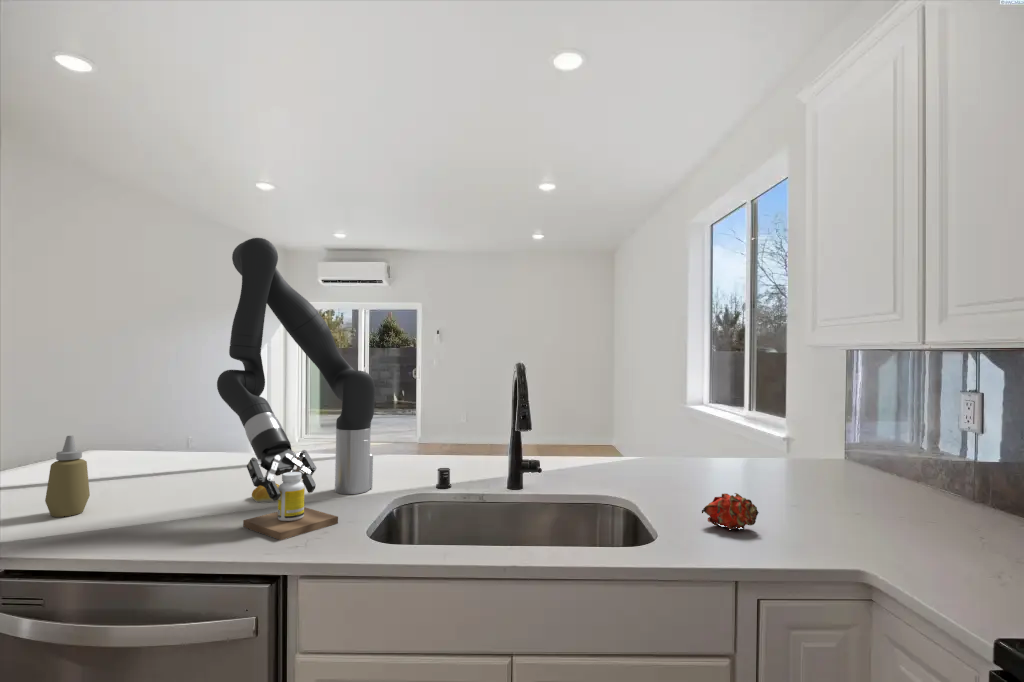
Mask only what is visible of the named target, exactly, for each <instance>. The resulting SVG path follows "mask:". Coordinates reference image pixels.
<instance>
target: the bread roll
mask: <svg viewBox="0 0 1024 682" xmlns="http://www.w3.org/2000/svg"><path fill="white" fill-rule="evenodd" d="M276 485H277V487H278V488H279V485H280V484H279V483H276ZM251 497H252V499H253V501H255V502H256V501H257V502H256V503H259V502H268V503H275V502H274V501H273V499H271V498H270V497H269V495H268V493H267V490H266V488H265V487H263V486H258V487H255V488H254V489H253V490H252V492H251ZM276 501H277V502H278V500H276Z"/></svg>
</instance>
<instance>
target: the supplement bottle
mask: <svg viewBox="0 0 1024 682" xmlns="http://www.w3.org/2000/svg"><path fill="white" fill-rule="evenodd" d="M301 478H302V477H301V473H300V472H287V473H284V474H281V481H282V483H280V484H278V485H279V488H278V489H279V491H280V494H281V496H280V497H279V499H278V501H277V512H278V519H279V520H281V521H295V520H299V519H301V518H303V516H304V507H305V491H306V490H305V489H306V487H305V485H304V483H303V481H301V480H302V479H301Z"/></svg>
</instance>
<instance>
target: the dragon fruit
mask: <svg viewBox="0 0 1024 682" xmlns="http://www.w3.org/2000/svg"><path fill="white" fill-rule="evenodd" d="M734 495H735V496H734ZM734 495H733V494H732V495H730V494H728V493H721V496H714V498H713V499H712V501H711V502H709V503H708V504H707V505H705V506H704V508H702V510H701V514H703V513H704V514H706V515H707V516H709V517H707V522H708V523H711V524H714V525H713V526H716V525H718V524H720V525H724V526H728V527H727V529H728V528H729V529H735V530H737V529H736V527H737V528H740V527H742V528H744V529H745V526H746V525H747V526H754V525H755V524H756V520H757V517H758V515H759V514H760V512H759V510H758V508H757V506H756V505H755V504H754V503H753V501H752V500H751V499H748V498H746V497H743V496H741V495H740V494H739V493H737V492H735V493H734ZM733 527H734V528H733Z"/></svg>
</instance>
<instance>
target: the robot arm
mask: <svg viewBox="0 0 1024 682" xmlns="http://www.w3.org/2000/svg"><path fill="white" fill-rule="evenodd" d="M231 258H232V264H233V266H234V268H235V270H236V271H237V272H238V273H239V274H240V276H241V287H240V288H241V289H240V295H239V300H238V304H237V308H236V311H235V314H234V317H233V321H232V326H231V331H230V332H231V333H230V339H229V340H230V341H229V349H228V353H229V357H230V358H231V359H234V360H237V361H240V362H242V365H243V367H244V370H243V369H227V370H224V371H223V372H221V373H220V374H219V376H218V378H217V382H216V388H217V389H216V390H217V391H218V394H219V396H220V397H221V399H222V401H224V402H225V403H226V405H227V406H228V407H229V408H230V409H231V410H232V411H233V412H234V413H235V414H236V415H237V416H238V418H239V420H240V422H241V425H242V426H243V428H244V431H245V435H246V438H247V439H248V442H249V444H250V447H251V448H252V451H253V452H254V454H255V456H256V457H254V456H253V457H252V458H250V460H249V462H248V463H247V465H246V469H247V471H248V473H249V476H250V479H251V482H252V484H253V487H255V488H257V487H258V486H263V487H265V488H266V490H267V493H268V495H269V497H270V498H271V499H273V501H276V500H278V499H279V497H280V496H281V494H280V491H279V489H278V487H277V485H276V484H277V483H276V482H275V480H274V478H275V477H274V476H276V477H277V476H278V477H279V476H282V474H284V473H287V472H300V473H301V477H302V478H301V480H302V481H301V482H302V483H303V484H304V488H305V489H306V491H307V493H308V494H311V493H313V492H314V491H315V490H316V486H317V485H316V484H317V483H316V482H315V479H314V477H313V474H314V473H315V472H316V470H317V466H316V464H315V462H314V461H313V459H312V458H311V456H310V454H309V452H308V451H307V450H306V449H302V450H301V451H300V452H298V453H295V452H294V451H293V449H292V446H291V441H290V440H289V438H288V436H287V434H286V432H285V431H284V429H283V426H282V424H281V423H280V420H279V419H278V418H277V417H276V415H275V413H274V411H273V409H272V407H271V406H270V404H269V402H268V400H267V399H266V398H265V397H262V396H261V395H262V394H263V392H264V390H265V387H266V378H265V372H264V366H263V360H262V354H261V353H262V345H263V337H264V327H265V326H264V325H265V316H266V309H267V305H268V307H269V309H270V310H271V311H272V313H273V315H274V316H275V317H276V318H277V320H278V321H279V322H280V324H281V325H282V327H283V328H284V329H285V330H286V332H287V333H288V335H289V336H290V337H291V338H292V339H293V341H294V342H295V343H296V345H297V346H298V347H299V348H300V350H302V351H303V353H305V355H306V356H307V357H308V359H310V361H311V362H312V363H313V364H314V365H315V367H316V368H317V369H318V370H319V372H320V374H321V375H322V376H323V377H324V379H325V381H326V382H327V384H328V386H329V387H330V389H331V391H332V393H334V395H335V396H336V398H337V399H339V400H340V401H342V404H341V413H340V415H339V416H338V417H336V421H335V424H336V425H335V428H336V429H335V464H334V465H335V467H334V468H335V469H334V470H335V472H334V479H335V480H334V492H335V493H337V494H341V495H357V494H362V493H366V492H369V491H370V490H371V489H370V488H372V489H373V479H374V478H373V476H374V475H373V474H374V472H373V470H374V464H373V463H374V456H373V454H372V453H371V432H372V431H371V428H372V421H373V418H374V414H375V413H374V412H375V400H376V386H375V385H376V384H375V381H374V378H373V377H372V376H371V374H370V373H368V372H367V371H364V370H355V369H354V368H353V367H352V366H351V365H350V364H349V362H347V360H346V359H345V358H344V357H343V356H342V354H341V353H340V351H339V349H338V348H337V345H336V342H335V339H334V338H335V337H334V336H333V333H332V331H331V329H330V327H329V325H328V323H327V322H326V321H325V319H324V318H323V316H322V315H321V314H320V313H319V311H318V310H317V309H316V308H315V306H313V304H311V302H310V301H308V300H307V299H306V298H305V297H304V296H303V295H302V294H300V293H299V292H298V291H297V290H295V289H294V288H293V287H292V286H291V285H290V284H288V282H287V281H286V280H285V278H284V277H283V276H282V275H281V273H280V271H279V270H278V269H277V265H278V260H279V256H278V251H277V248H276V246H275V245H274V244H273V243H272V242H270V241H269V240H267V239H266V238H263V237H252V238H250V239H247V240H245V241H242V242H241V243H239V244H238V245H237V246H236V247H235V248H234V250H233V252H232V256H231ZM295 466H296V469H294V468H295ZM261 468H262V469H264V470H266V472H265V476H264V474H263V472H262V469H261Z"/></svg>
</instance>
